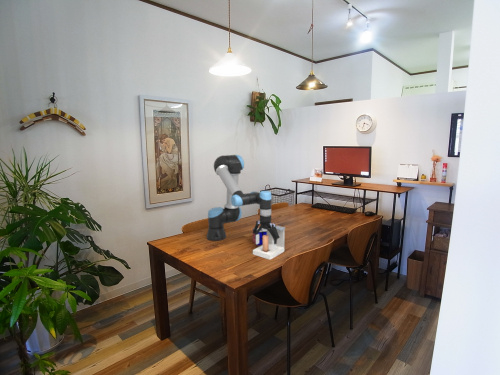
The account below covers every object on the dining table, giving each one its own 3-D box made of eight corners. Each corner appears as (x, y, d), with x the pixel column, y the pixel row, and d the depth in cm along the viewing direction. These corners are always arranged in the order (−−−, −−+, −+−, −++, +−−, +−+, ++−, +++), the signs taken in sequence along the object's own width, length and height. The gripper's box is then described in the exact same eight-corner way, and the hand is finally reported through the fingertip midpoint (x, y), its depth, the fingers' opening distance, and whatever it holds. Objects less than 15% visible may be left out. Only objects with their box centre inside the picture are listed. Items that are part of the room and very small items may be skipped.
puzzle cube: (256, 245, 197) (256, 232, 196) (252, 240, 207) (252, 228, 205) (269, 244, 200) (269, 231, 198) (264, 239, 210) (264, 227, 208)
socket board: (252, 254, 183) (251, 229, 180) (267, 246, 195) (267, 223, 193) (270, 259, 173) (270, 234, 170) (285, 251, 186) (285, 227, 183)
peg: (265, 252, 184) (264, 234, 182) (269, 254, 182) (269, 235, 180) (261, 254, 181) (261, 236, 179) (266, 256, 179) (266, 237, 177)
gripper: (247, 213, 182) (247, 243, 186) (278, 219, 166) (278, 252, 170) (254, 210, 188) (254, 240, 191) (285, 216, 172) (284, 248, 176)
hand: (265, 246), depth 181 cm, fingers open, 13 cm apart
